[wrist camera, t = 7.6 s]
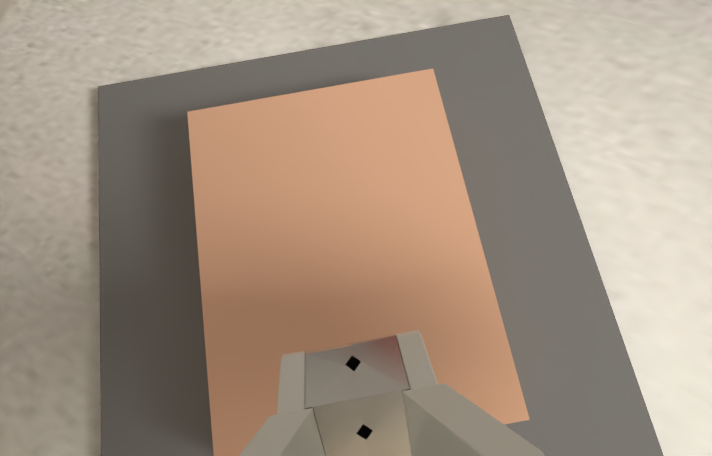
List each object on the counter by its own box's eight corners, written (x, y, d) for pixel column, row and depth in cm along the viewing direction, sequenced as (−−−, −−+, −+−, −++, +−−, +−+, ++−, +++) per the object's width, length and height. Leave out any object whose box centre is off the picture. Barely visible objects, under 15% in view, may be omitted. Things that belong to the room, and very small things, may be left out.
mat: (705, 606, 14) (719, 616, 13) (114, 726, 14) (103, 741, 13) (505, 24, 21) (509, 15, 20) (106, 94, 20) (98, 86, 20)
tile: (529, 419, 13) (432, 68, 17) (215, 480, 13) (187, 111, 17) (507, 413, 15) (426, 103, 19) (238, 465, 15) (208, 142, 19)
